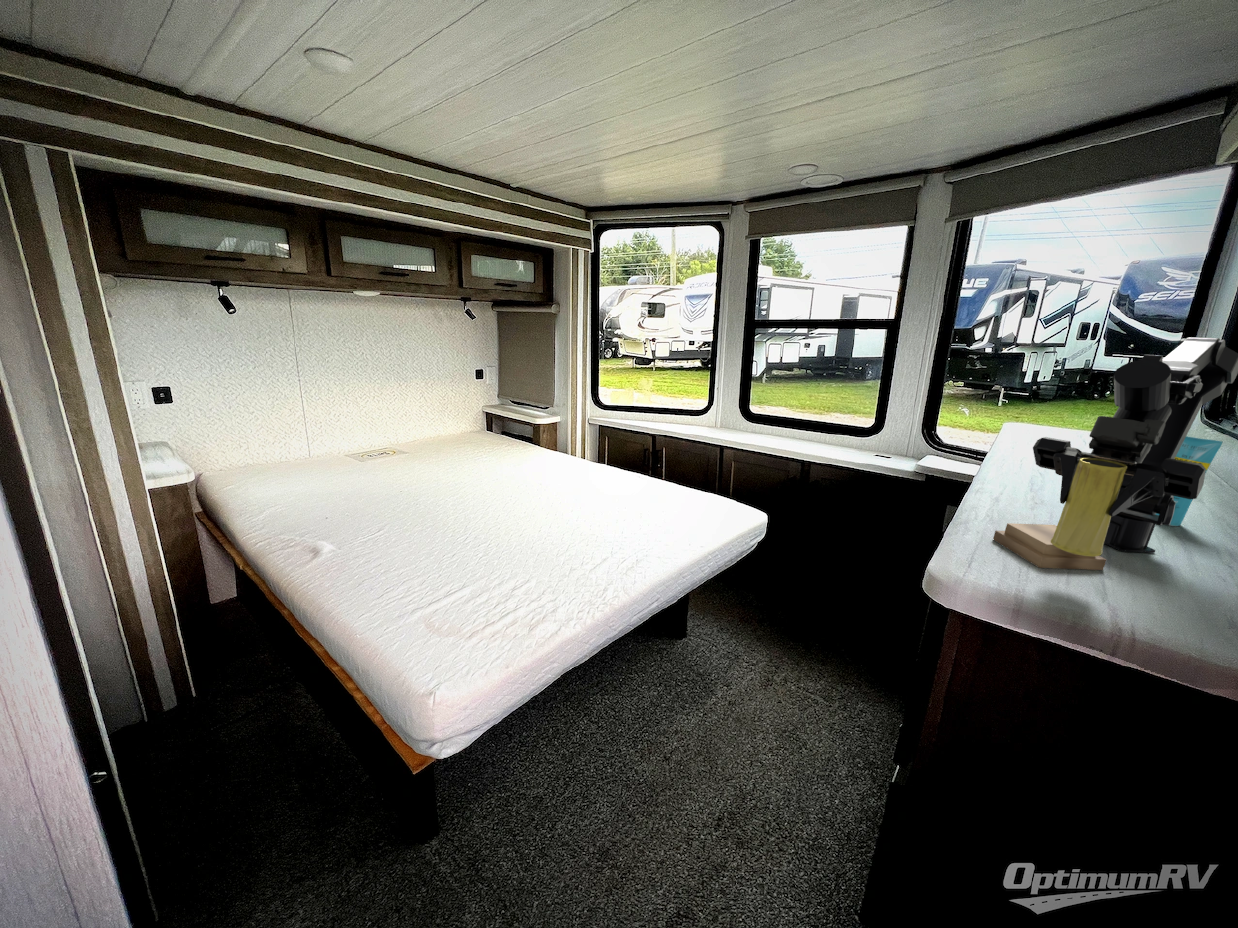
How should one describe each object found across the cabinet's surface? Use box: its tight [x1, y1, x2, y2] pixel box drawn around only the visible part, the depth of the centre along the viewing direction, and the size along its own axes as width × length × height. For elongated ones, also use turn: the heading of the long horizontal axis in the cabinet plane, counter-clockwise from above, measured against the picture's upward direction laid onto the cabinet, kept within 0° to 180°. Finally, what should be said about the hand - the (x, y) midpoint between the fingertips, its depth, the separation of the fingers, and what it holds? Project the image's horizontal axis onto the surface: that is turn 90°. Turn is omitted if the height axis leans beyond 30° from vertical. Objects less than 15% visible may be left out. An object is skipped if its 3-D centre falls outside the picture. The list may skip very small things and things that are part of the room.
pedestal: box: [992, 522, 1107, 571], centre depth 88 cm, size 11×11×4 cm
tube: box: [1155, 436, 1223, 527], centre depth 102 cm, size 7×5×19 cm, turn 23°
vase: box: [1051, 458, 1127, 557], centre depth 74 cm, size 6×6×14 cm
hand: (1085, 508), depth 73 cm, fingers closed on vase, 5 cm apart
